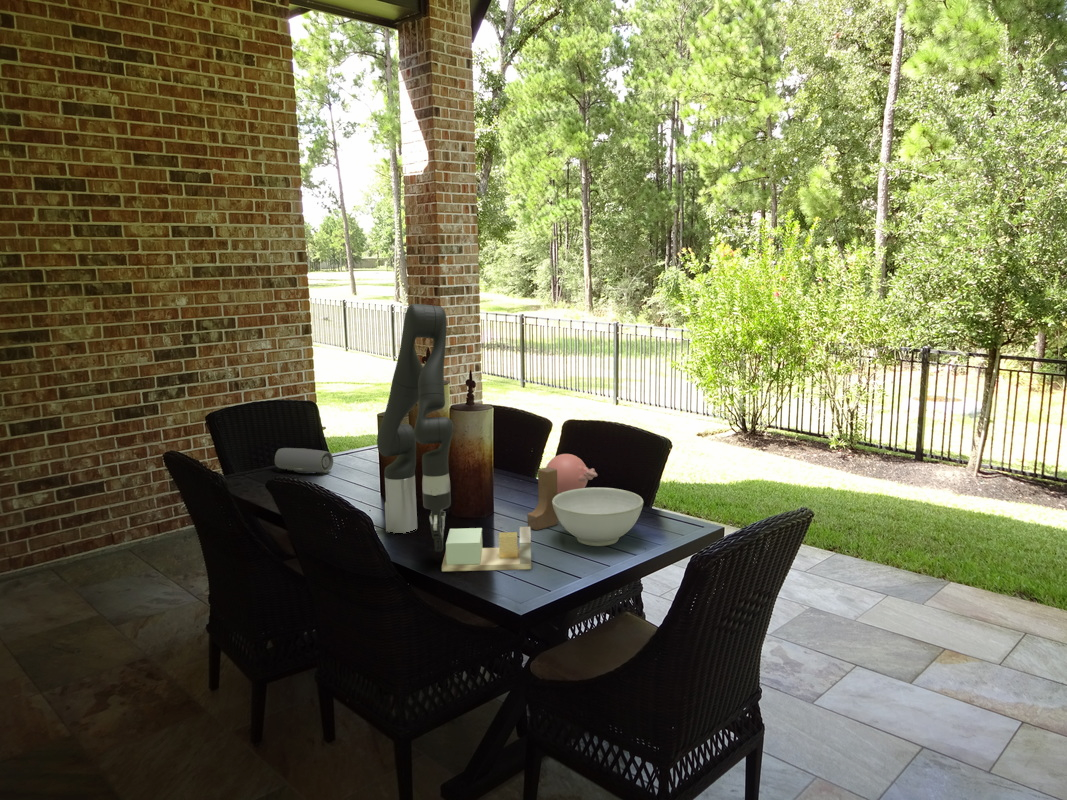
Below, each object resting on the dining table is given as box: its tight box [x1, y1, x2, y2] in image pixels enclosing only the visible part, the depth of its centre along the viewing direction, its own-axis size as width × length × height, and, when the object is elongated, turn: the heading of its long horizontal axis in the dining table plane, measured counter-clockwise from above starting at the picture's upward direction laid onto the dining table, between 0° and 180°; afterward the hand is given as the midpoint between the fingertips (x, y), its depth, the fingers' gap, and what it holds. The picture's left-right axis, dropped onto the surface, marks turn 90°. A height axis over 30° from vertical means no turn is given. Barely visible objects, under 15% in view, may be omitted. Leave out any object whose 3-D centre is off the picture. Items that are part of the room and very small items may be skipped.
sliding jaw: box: [445, 527, 484, 565], centre depth 214 cm, size 9×12×6 cm
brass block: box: [498, 531, 519, 558], centre depth 214 cm, size 5×4×6 cm
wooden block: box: [527, 467, 559, 531], centre depth 242 cm, size 9×4×18 cm, turn 128°
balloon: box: [545, 453, 598, 494], centre depth 272 cm, size 15×20×15 cm
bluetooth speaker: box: [274, 447, 334, 473], centre depth 315 cm, size 23×9×10 cm, turn 69°
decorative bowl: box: [552, 487, 644, 547], centre depth 230 cm, size 27×27×12 cm
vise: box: [441, 526, 532, 572], centre depth 214 cm, size 24×13×8 cm, turn 91°
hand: (439, 550), depth 214 cm, fingers closed
